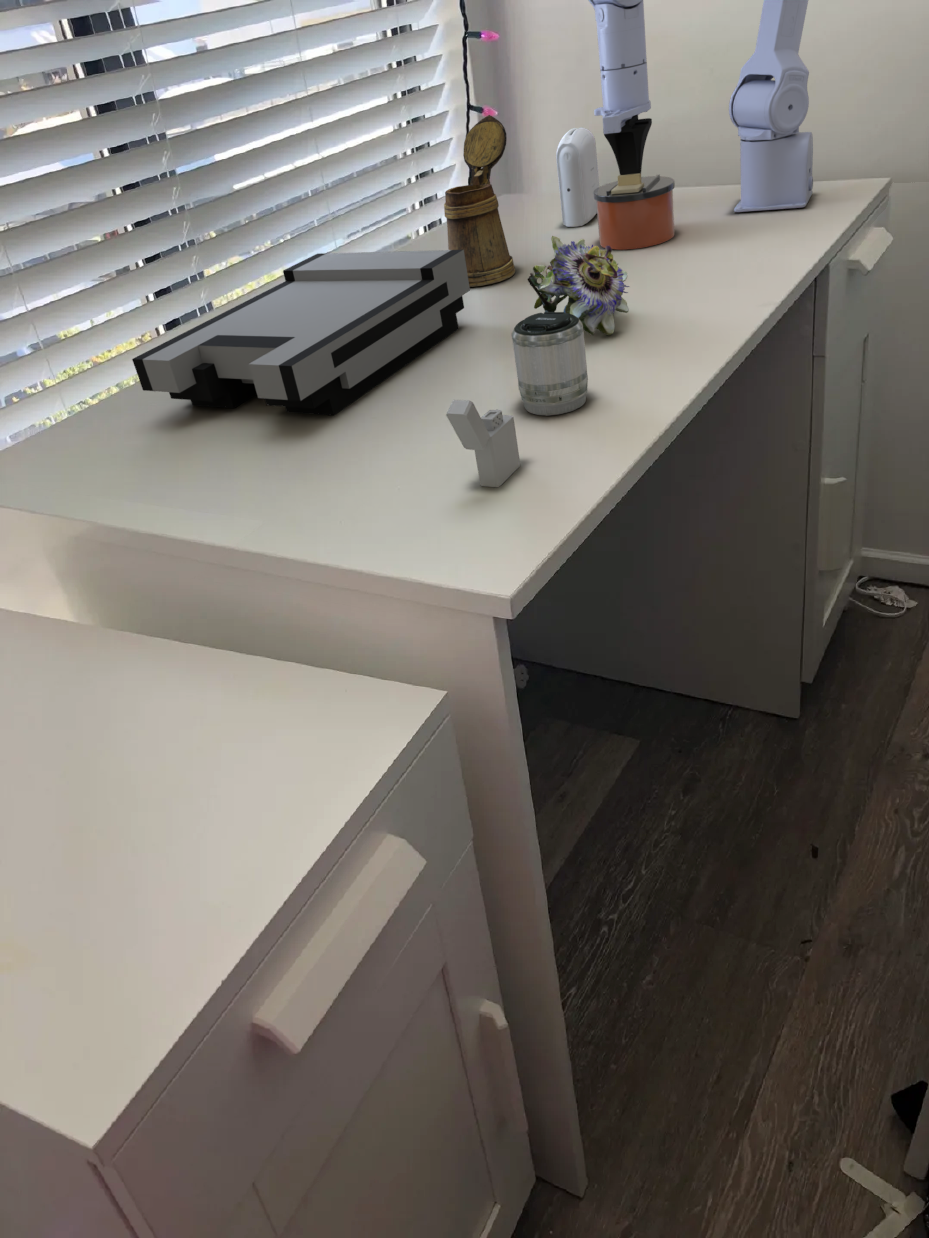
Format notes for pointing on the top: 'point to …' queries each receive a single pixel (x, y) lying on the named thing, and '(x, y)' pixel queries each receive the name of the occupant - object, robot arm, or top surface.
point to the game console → (316, 333)
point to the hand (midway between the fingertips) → (631, 183)
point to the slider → (628, 184)
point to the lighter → (487, 440)
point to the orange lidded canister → (636, 214)
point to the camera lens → (551, 362)
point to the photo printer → (577, 176)
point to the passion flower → (582, 284)
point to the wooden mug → (480, 208)
